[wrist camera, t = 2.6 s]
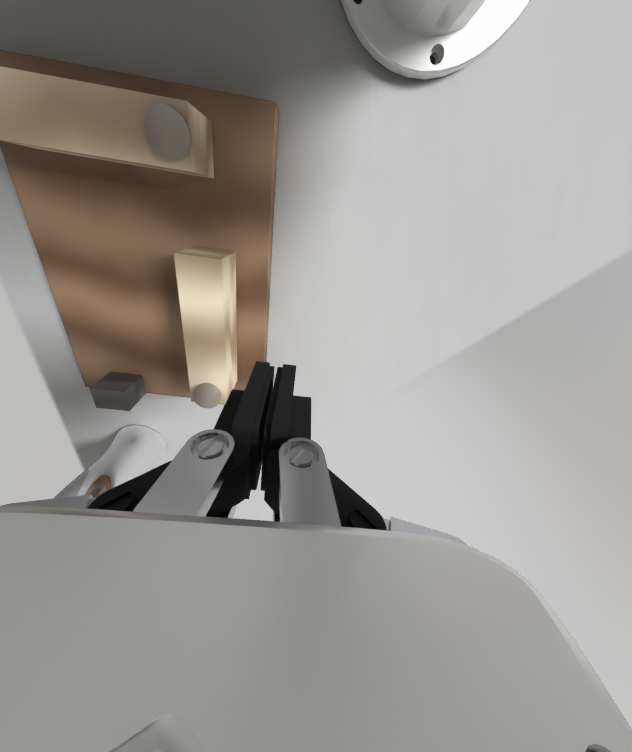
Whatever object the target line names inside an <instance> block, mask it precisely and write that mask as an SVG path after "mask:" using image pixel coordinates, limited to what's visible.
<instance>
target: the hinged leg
mask: <svg viewBox="0 0 632 752" xmlns="http://www.w3.org/2000/svg"><path fill="white" fill-rule="evenodd" d="M174 260H175V269H176V277H177V285H178V294H179V302H180V310H181V319H182V327H183V335H184V343H185V352H186V360H187V368H188V377H189V385H190V393H191V401H195V403H196V404H198V405H199V406H201V407H204V408H213V407H215V406H217V405H218V404H223V405H225V404H226V401H227V399H228V397H229V395H230V393H231V391H232V390H233V389H234V387H235V385H236V382H237V315H236V252H235V251H228V250H222V249H215V248H208V247H201V246H194V247H191V248H187V249H184V250H181V251H178V252H174Z"/></svg>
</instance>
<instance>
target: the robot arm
mask: <svg viewBox="0 0 632 752" xmlns="http://www.w3.org/2000/svg"><path fill="white" fill-rule="evenodd" d="M530 1H531V0H361V4H356V3H355V2H354V1H353V0H341V2H342V5H343V8H344V10H345V13H346V16H347V19H348V21H349V23H350V25H351V26H352V28H353V30H354V32H355V34H356V35H357V37H358V39H359V41H360V42H361V44H362V45H363V46H364V47H365V48H366V50H367V51H368V52H369V53H370V54H371V56H372V57H373V58H374V59H375V60H376V61H378V62H379V63H380V64H382V65H383V66H384V67H386V68H387V69H388V70H390V71H392V72H395V73H397V74H400V75H402V76H405V77H407V78H417V79H430V78H437V77H443V76H446V75H448V74H450V73H453V72H455V71H458V70H460V69H462V68H464V67H465V66H467V65H468V64H470V63H471V62H473V61H474V60H476V59H477V58H479V57H480V56H482V55H483V54H484V53H485V52H486V51H487V50H488V49H489V48H490V47H491V46H493V45H494V44H495V43H496V42H497V41H498V40H499V39H500V38H501V37H502V36H503V35H504V34H505V33H506V31H507V30H508V29H509V28H510V27H511V26H512V25H513V24H514V23H515V22H516V20H517V19H518V18H519V17H520V15H521V14H522V12H523V11H524V9H525V8H526V6H527V5H528V4H529V2H530ZM430 56H434V58H435V64H432V63H431V61H430ZM295 372H296V366H294V365H285V364H283V368H282V367H278V369H277V374H276V378H275V382H274V387H273V378H274V367H273V366H270V363H268V362H260V361H256V363H255V365H254V368H253V370H252V373H251V375H250V378H249V381H248V383H247V386H246V388H245V390H236V389H233V390H232V391H231V393H230V395H229V397H228V399H227V401H226V404H225V406H224V408H223V410H222V412H221V414H220V417H219V419H218V421H217V423H216V425H215V428H214V429H212V430H205V431H202V432H199V433H197V434H195V435H194V436H192V437H191V438H190V439H189V440H188V441H187V442H186V444H185V445H184V446H183V447H182V449H181V450H180V451H179V453H178V454H177V455H176V456H175V458H174V459H173V460H172V461H170V462H168V463H165V464H163V465H161V466H159V467H157V468H155V469H153V470H150V471H148V472H146V473H144V474H142V475H140V476H138V477H135V478H133V479H131V480H129V481H127V482H125V483H122V484H120V485H118V486H116V487H114V488H112V489H110V490H108V491H106V492H105V493H103V494H101V495H100V496H99V497H97V498H93V497H92V495H91V494H90V495H81V496H73V497H64V498H55V499H46V500H38V501H29V502H20V503H11V504H7V505H2V506H0V752H632V729H631V727H630V726H629V724H628V723H627V721H626V719H625V718H624V716H623V715H622V713H621V711H620V710H619V708H618V707H617V705H616V703H615V702H614V700H613V699H612V697H611V695H610V694H609V692H608V691H607V689H606V688H605V686H604V684H603V683H602V681H601V679H600V678H599V676H598V675H597V673H596V671H595V670H594V668H593V667H592V665H591V664H590V662H589V661H588V659H587V657H586V656H585V655H584V653H583V651H582V650H581V648H580V647H579V645H578V644H577V642H576V641H575V639H574V638H573V636H572V635H571V633H570V632H569V631H568V629H567V628H566V626H565V625H564V624H563V622H562V621H561V619H560V618H559V616H558V615H557V613H556V612H555V611H554V609H553V608H552V607H551V606H550V604H549V603H548V602H547V600H546V599H545V598H544V597H543V596H542V594H541V593H540V592H539V591H538V590H537V589H536V588H535V587H534V586H533V585H532V584H531V583H530V582H529V581H528V580H527V579H526V578H525V577H524V576H523V575H521V574H520V573H519V572H518V571H516V570H515V569H513V568H512V567H510V566H508V565H507V564H505V563H504V562H502V561H500V560H498V559H496V558H495V557H493V556H490V555H488V554H486V553H483V552H482V551H479V550H477V549H475V548H473V547H470V546H468V545H466V544H465V543H464V542H463V541H462V540H460V539H459V538H457V537H454V536H452V535H450V534H446V533H443V532H439V531H436V530H433V529H430V528H426V527H423V526H420V525H416V524H413V523H410V522H406V521H403V520H399V519H396V518H393V517H391V519H390V520H387V519H384V518H382V516H381V515H380V514H379V513H378V512H377V511H376V509H374V508H373V507H372V506H371V505H369V503H367V502H366V501H365V500H364V499H363V498H362V497H360V496H359V495H358V494H357V493H356V492H355V491H353V490H352V489H351V488H350V487H349V486H347V485H346V484H345V483H344V482H343V481H342V480H341V479H339V478H338V477H337V476H336V475H335V474H334V473H332V472H331V471H330V470H329V469H328V468H327V464H326V460H325V456H324V453H323V450H322V448H321V447H320V446H319V445H318V444H317V443H316V442H314V441H313V440H311V397H301V396H293V390H294V381H295ZM261 465H262V477H261V490H264V491H265V497H264V500H265V501H266V503H267V504H268V505H269V506H270V507H271V508H272V509H273V521H260V520H246V519H232V517H233V515H234V512H235V508H236V505H237V504H238V503H240V502H241V501H243V500H244V499H249V496H250V491H251V490H256V488H257V485H258V479H259V475H260V470H261Z"/></svg>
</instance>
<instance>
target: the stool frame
mask: <svg viewBox="0 0 632 752" xmlns="http://www.w3.org/2000/svg"><path fill="white" fill-rule="evenodd" d="M278 117H279V111H278V108H277V106H276V103H275V102H272V101H267V100H262V99H256V98H251V97H246V96H241V95H235V94H230V93H225V92H219V91H214V90H209V89H204V88H198V87H193V86H188V85H183V84H177V83H172V82H167V81H161V80H156V79H151V78H146V77H140V76H135V75H130V74H124V73H119V72H114V71H109V70H103V69H98V68H93V67H88V66H82V65H77V64H72V63H66V62H61V61H56V60H51V59H45V58H40V57H35V56H29V55H24V54H19V53H14V52H8V51H3V50H0V147H1V150H2V153H3V156H4V159H5V161H6V164H7V167H8V170H9V173H10V175H11V178H12V181H13V184H14V187H15V189H16V192H17V195H18V198H19V201H20V203H21V206H22V209H23V212H24V215H25V218H26V220H27V223H28V226H29V229H30V232H31V234H32V237H33V240H34V243H35V246H36V248H37V251H38V254H39V257H40V260H41V262H42V265H43V268H44V271H45V274H46V277H47V279H48V282H49V285H50V288H51V291H52V293H53V296H54V299H55V302H56V305H57V307H58V310H59V313H60V316H61V319H62V321H63V324H64V327H65V330H66V333H67V336H68V338H69V341H70V344H71V347H72V350H73V352H74V355H75V358H76V361H77V364H78V366H79V369H80V372H81V375H82V378H83V381H84V383H85V386H86V387H91V388H90V390H91V393H92V396H93V399H94V402H95V405H96V408H106V409H116V410H125V411H130V410H131V409H132V408H133V407H134V406H135V405H136V403H137V402H138V401H139V400H140V399H141V398H142V397H143V396H144V395H145V394H146V393H152V394H161V395H171V396H180V397H190V398H191V393H190V385H189V377H188V368H187V360H186V352H185V343H184V335H183V327H182V319H181V310H180V302H179V294H178V285H177V277H176V269H175V260H174V252H178V251H181V250H184V249H187V248H191V247H194V246H201V247H208V248H215V249H222V250H228V251H235V252H236V315H237V382H236V385H235V387H234V389H236V390H245V388H246V386H247V383H248V381H249V378H250V375H251V373H252V370H253V368H254V365H255V363H256V361H260V362H266V357H267V337H268V317H269V297H270V277H271V257H272V237H273V217H274V197H275V177H276V157H277V137H278Z"/></svg>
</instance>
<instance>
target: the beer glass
mask: <svg viewBox="0 0 632 752" xmlns="http://www.w3.org/2000/svg"><path fill="white" fill-rule="evenodd" d="M166 452H167V444H166V441H165V440H164V438H163V437H162V436H161V435H160V434H159V433H158V432H156V431H154V430H153V429H151V428H148V427H145V426H140V425H130V426H126V427H124V428H122V429H121V430H120V431H119V432H118V433H117V434H116V436H115V438H114V440H113V442H112V443H111V445H110V447H109V448H108V450H107V451H106V452H105V453H104V454H103V456H102V457H101V458H100V459H99V460H97V461H96V462H95V463H94V464H93V465H92V466H90V467H89V468H88V469H87V470H85V471H84V472H83V473H82V474H81V475H79V476H78V477H77V478H76V479H75V480H73V481H72V482H71V483H70V484H69V485H67V486H66V487H65V488H64V489H63V490H62V491H61V492H60V493H59V494H57V495H56V496H55V497H54V498H53V499H55V498H64V497H73V496H81V495H90V494H91V495H92V497H93V498H97V497H99V496H100V495H101V494H103V493H105V492H106V491H108V490H110V489H112V488H114V487H116V486H118V485H120V484H122V483H125V482H127V481H129V480H131V479H133V478H135V477H138V476H140V475H142V474H144V473H146V472H148V471H150V470H152V468H153V467H154V466H155V465H156V464H157V462H158V461H159V460H160V459H161V458H162V457H163V456H164V455H165V454H166Z"/></svg>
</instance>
